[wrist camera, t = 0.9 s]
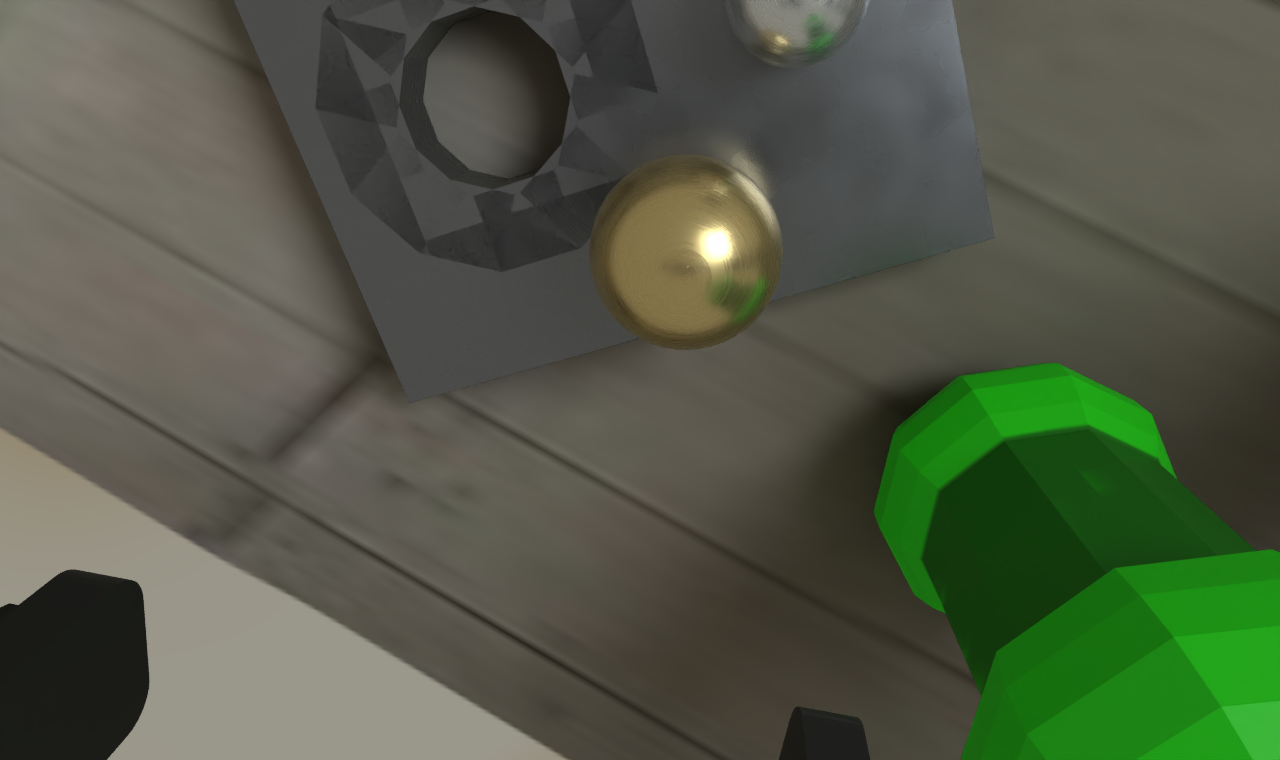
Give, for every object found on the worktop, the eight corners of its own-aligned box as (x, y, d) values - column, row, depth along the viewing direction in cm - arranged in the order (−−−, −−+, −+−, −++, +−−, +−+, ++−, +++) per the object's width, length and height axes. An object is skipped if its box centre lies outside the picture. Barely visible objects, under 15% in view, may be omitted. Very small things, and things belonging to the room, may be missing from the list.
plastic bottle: (1163, 342, 31) (2509, 1195, 8) (1075, 585, 35) (1810, 1642, 12) (889, 305, 31) (1413, 1027, 8) (831, 550, 35) (1077, 1520, 12)
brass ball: (749, 120, 27) (760, 137, 22) (794, 291, 29) (814, 346, 24) (577, 175, 28) (546, 205, 23) (631, 337, 30) (614, 400, 25)
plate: (858, -381, 24) (875, -427, 22) (972, 223, 30) (994, 238, 28) (219, -117, 28) (175, -132, 26) (429, 378, 34) (409, 402, 31)
